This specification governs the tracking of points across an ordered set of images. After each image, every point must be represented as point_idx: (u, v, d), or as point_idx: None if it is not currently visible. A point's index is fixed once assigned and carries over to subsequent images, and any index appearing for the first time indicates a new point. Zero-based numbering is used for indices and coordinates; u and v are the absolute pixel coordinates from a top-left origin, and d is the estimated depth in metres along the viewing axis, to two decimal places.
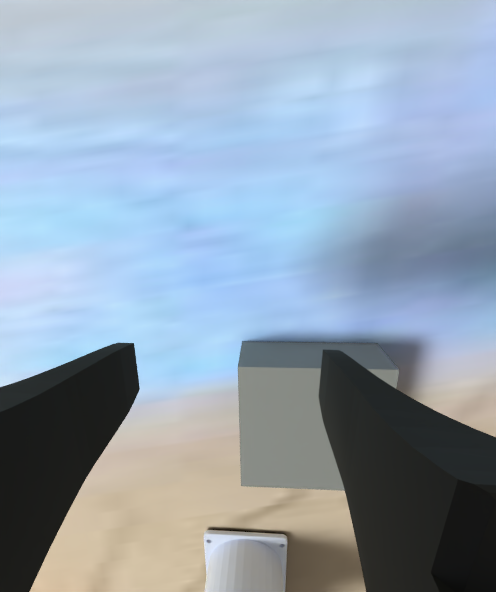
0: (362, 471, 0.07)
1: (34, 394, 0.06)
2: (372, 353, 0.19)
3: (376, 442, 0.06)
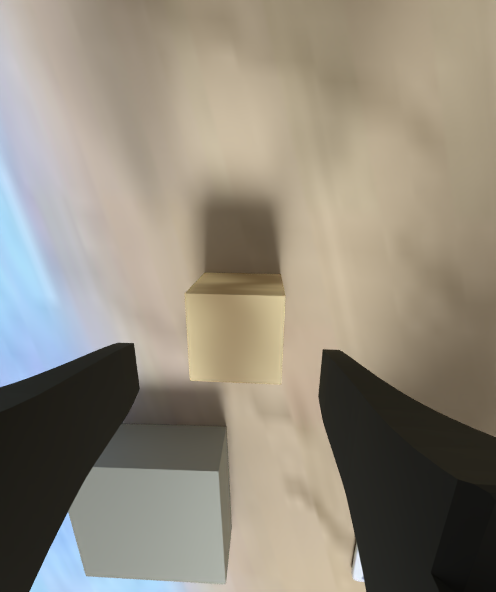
0: (362, 471, 0.07)
1: (34, 394, 0.06)
2: None
3: (376, 442, 0.06)
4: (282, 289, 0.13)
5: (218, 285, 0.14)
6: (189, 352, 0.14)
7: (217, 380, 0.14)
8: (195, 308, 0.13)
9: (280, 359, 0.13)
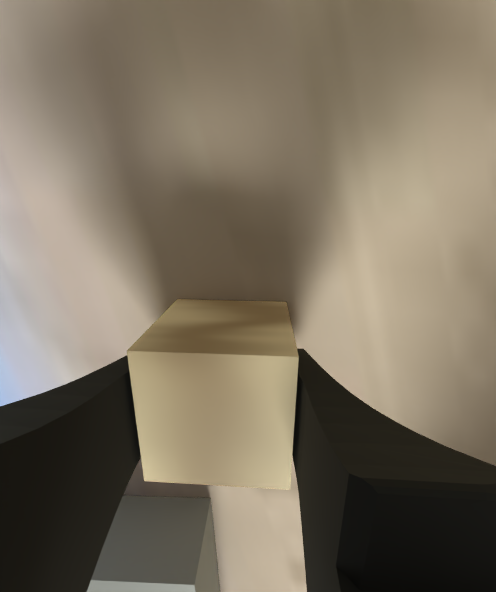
0: (306, 468, 0.07)
1: (87, 397, 0.06)
2: None
3: (313, 439, 0.06)
4: (292, 338, 0.08)
5: (189, 328, 0.09)
6: (140, 440, 0.08)
7: (187, 481, 0.09)
8: (146, 374, 0.08)
9: (289, 453, 0.08)
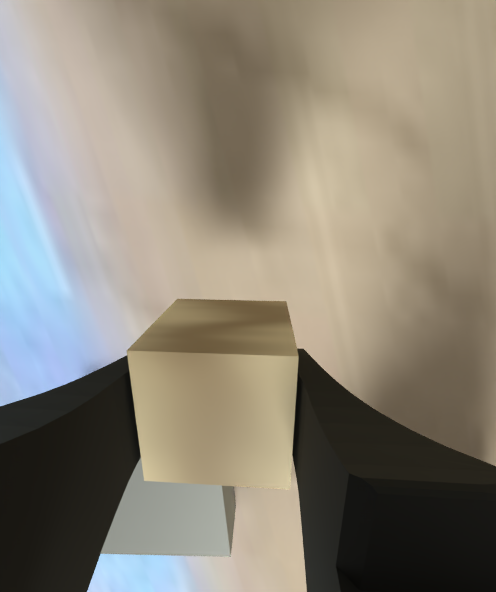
0: (306, 468, 0.07)
1: (87, 397, 0.06)
2: None
3: (312, 439, 0.06)
4: (291, 338, 0.08)
5: (189, 328, 0.09)
6: (140, 440, 0.08)
7: (187, 481, 0.09)
8: (146, 374, 0.08)
9: (289, 453, 0.08)
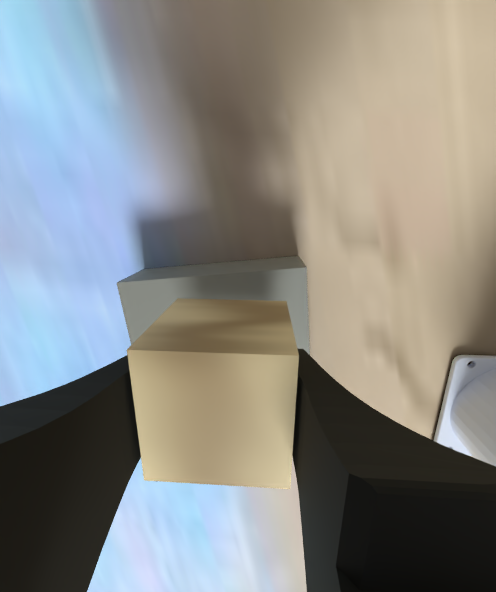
0: (306, 468, 0.07)
1: (87, 397, 0.06)
2: None
3: (313, 439, 0.06)
4: (292, 337, 0.08)
5: (189, 328, 0.09)
6: (140, 440, 0.08)
7: (188, 481, 0.09)
8: (146, 373, 0.08)
9: (289, 453, 0.08)
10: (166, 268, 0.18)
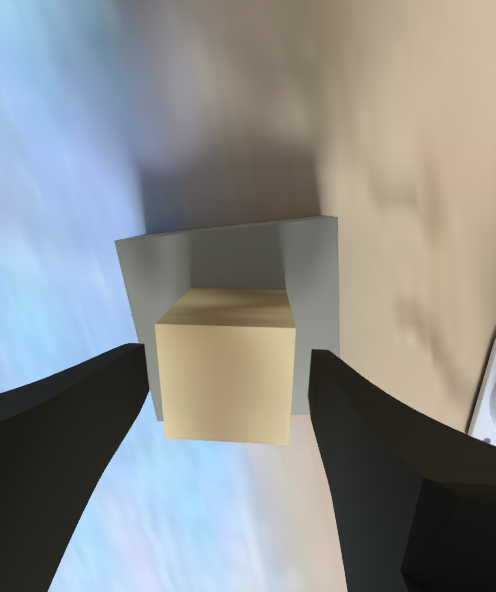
0: (344, 470, 0.07)
1: (50, 395, 0.06)
2: None
3: (356, 441, 0.06)
4: (290, 316, 0.10)
5: (204, 309, 0.10)
6: (163, 402, 0.10)
7: (202, 438, 0.10)
8: (170, 344, 0.09)
9: (288, 412, 0.10)
10: None
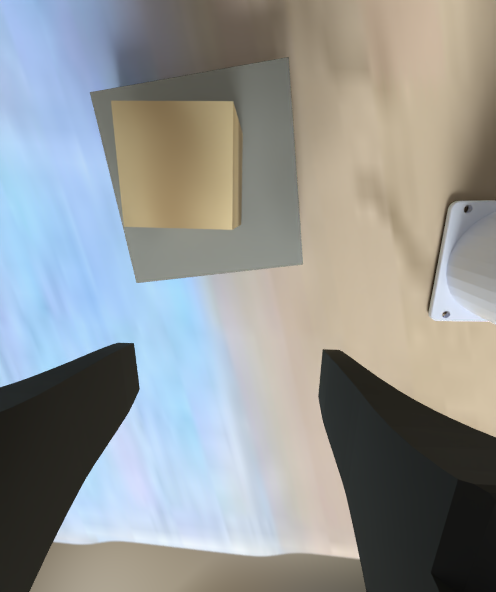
0: (362, 471, 0.07)
1: (33, 395, 0.06)
2: None
3: (376, 442, 0.06)
4: (234, 111, 0.11)
5: None
6: (121, 186, 0.11)
7: (156, 225, 0.12)
8: (125, 122, 0.11)
9: (230, 193, 0.11)
10: None
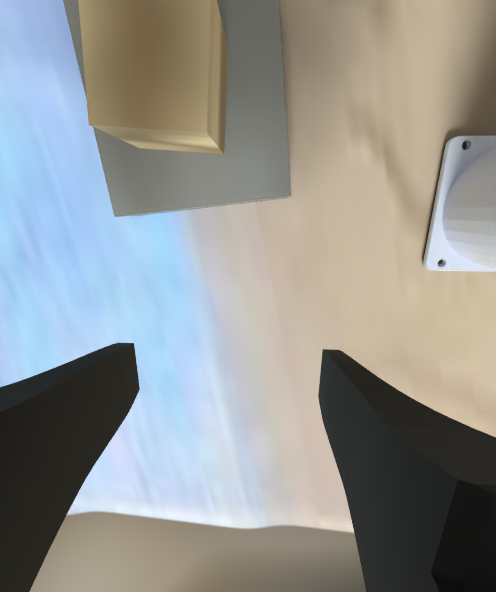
0: (362, 471, 0.07)
1: (33, 394, 0.06)
2: None
3: (376, 442, 0.06)
4: None
5: None
6: (86, 75, 0.10)
7: (124, 124, 0.11)
8: None
9: (205, 89, 0.10)
10: None
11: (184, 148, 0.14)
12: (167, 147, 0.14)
